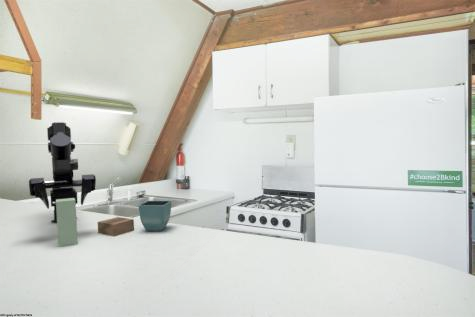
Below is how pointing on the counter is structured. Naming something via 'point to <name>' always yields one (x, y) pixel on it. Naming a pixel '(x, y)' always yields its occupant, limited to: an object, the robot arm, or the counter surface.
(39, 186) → the robot arm
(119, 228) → the walnut block
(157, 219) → the flower pot
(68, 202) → the sage pillar
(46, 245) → the counter surface
